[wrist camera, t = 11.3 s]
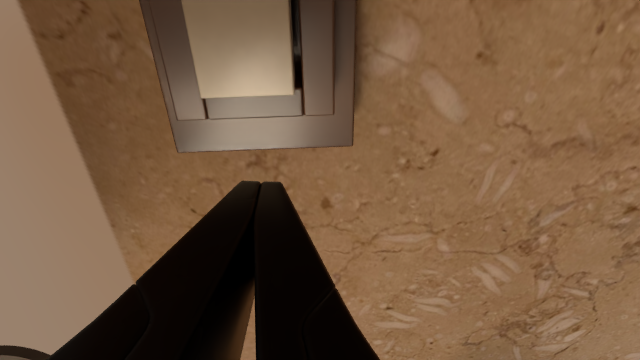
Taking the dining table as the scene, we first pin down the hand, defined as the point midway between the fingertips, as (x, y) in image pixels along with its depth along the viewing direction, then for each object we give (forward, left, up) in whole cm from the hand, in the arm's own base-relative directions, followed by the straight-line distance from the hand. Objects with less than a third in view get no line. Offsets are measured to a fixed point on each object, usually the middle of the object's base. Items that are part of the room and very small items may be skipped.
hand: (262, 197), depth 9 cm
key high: (0, +2, -8) cm, 8 cm away
